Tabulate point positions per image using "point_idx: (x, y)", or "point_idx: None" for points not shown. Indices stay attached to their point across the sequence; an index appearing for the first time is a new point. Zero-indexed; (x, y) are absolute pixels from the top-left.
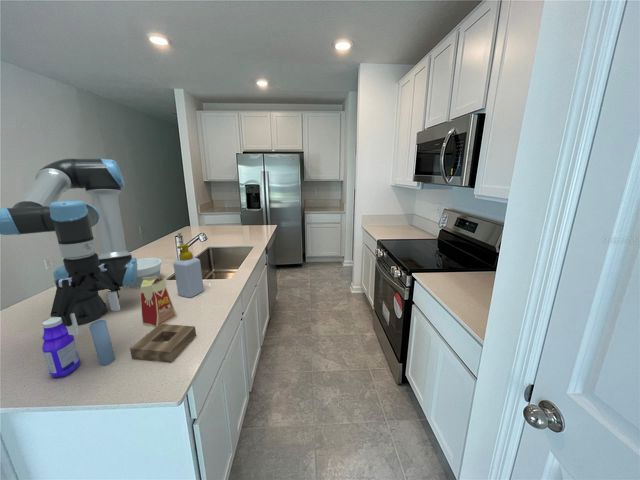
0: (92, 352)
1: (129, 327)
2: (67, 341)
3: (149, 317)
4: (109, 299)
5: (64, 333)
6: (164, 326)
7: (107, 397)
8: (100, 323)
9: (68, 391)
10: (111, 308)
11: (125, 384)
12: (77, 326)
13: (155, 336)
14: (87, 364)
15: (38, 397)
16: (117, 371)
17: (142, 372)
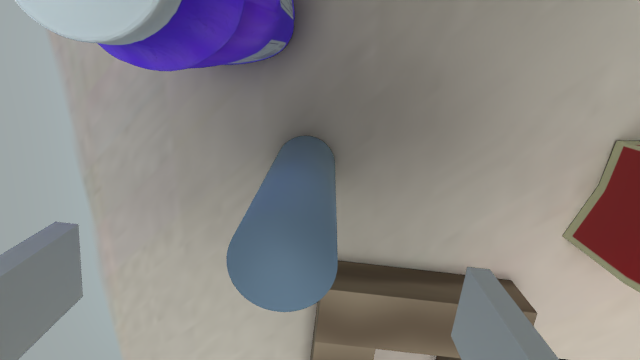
0: (371, 34)
1: (599, 74)
2: (191, 67)
3: (631, 212)
4: (518, 355)
5: (159, 68)
6: None
7: (129, 299)
8: (279, 287)
9: (131, 140)
10: (471, 284)
11: (188, 318)
12: (29, 344)
13: (414, 350)
14: (283, 85)
15: (86, 42)
16: None
17: (249, 340)
